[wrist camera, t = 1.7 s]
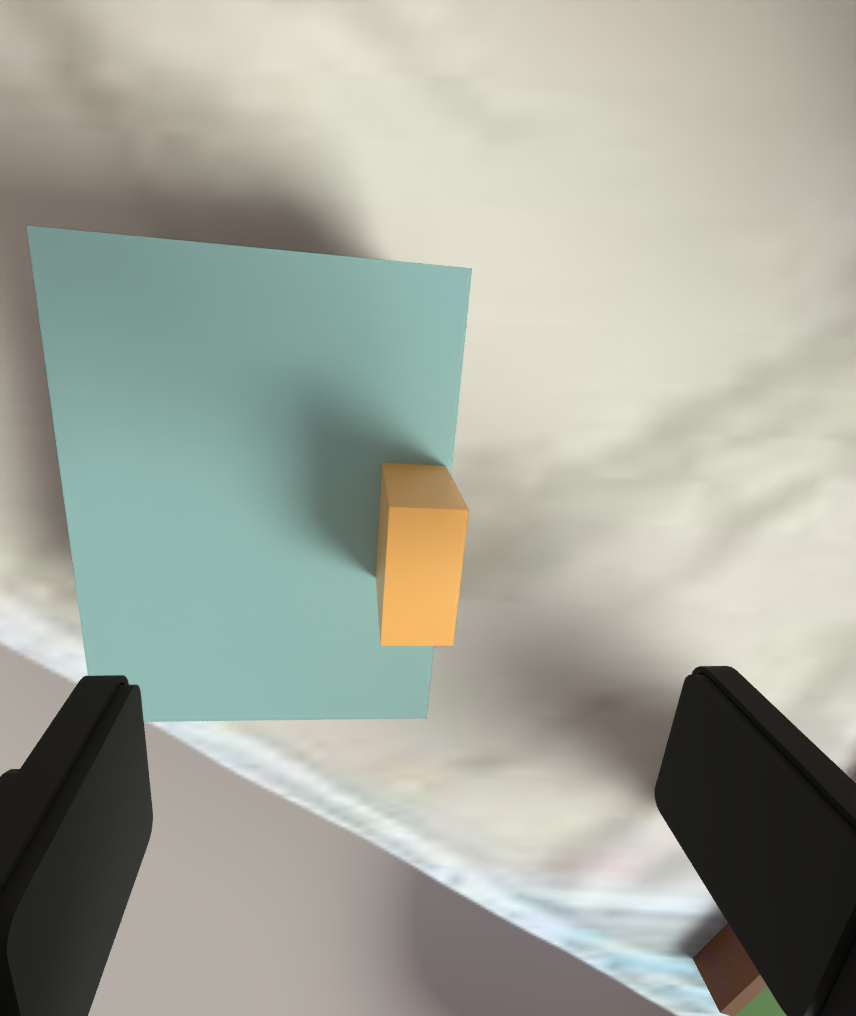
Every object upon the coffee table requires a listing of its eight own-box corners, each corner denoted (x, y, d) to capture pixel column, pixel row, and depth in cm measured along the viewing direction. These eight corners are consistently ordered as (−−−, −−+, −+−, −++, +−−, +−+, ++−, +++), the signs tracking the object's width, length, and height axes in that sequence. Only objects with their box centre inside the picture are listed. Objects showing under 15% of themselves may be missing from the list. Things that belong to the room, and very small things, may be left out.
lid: (462, 270, 18) (506, 262, 13) (421, 690, 23) (441, 806, 18) (55, 231, 16) (-86, 202, 11) (112, 692, 22) (35, 820, 16)
